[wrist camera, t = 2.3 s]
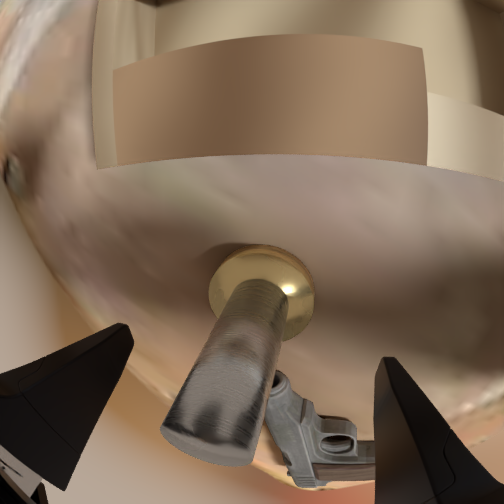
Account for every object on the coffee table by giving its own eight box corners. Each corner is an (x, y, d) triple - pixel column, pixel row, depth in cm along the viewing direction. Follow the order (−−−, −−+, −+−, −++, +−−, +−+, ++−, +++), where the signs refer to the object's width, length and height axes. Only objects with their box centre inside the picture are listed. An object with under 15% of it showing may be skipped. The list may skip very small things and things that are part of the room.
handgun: (472, 371, 9) (240, 400, 12) (416, 478, 14) (289, 489, 18) (454, 332, 12) (254, 360, 15) (414, 452, 17) (294, 463, 20)
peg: (318, 247, 11) (305, 422, 4) (310, 333, 12) (288, 485, 6) (211, 242, 12) (98, 372, 5) (221, 323, 13) (155, 453, 7)
